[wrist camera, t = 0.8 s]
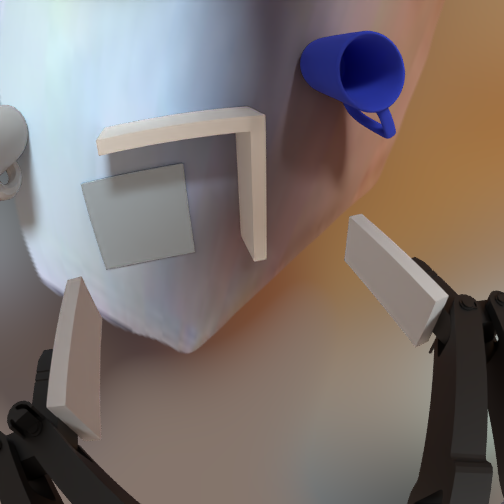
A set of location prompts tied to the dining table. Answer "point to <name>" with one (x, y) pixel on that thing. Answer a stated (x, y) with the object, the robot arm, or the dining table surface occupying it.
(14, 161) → the cup
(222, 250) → the dining table surface
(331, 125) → the dining table surface
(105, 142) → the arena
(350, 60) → the mug
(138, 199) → the pad
